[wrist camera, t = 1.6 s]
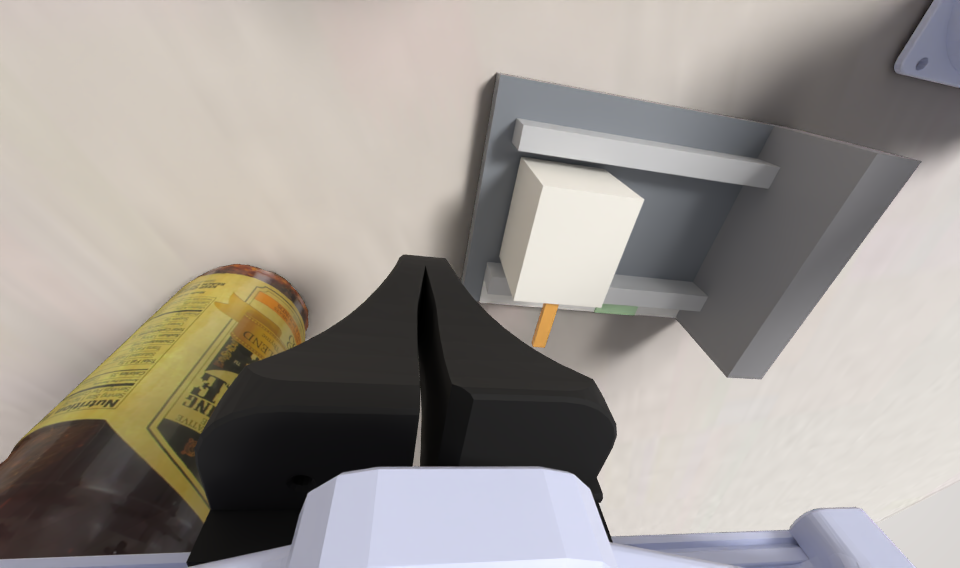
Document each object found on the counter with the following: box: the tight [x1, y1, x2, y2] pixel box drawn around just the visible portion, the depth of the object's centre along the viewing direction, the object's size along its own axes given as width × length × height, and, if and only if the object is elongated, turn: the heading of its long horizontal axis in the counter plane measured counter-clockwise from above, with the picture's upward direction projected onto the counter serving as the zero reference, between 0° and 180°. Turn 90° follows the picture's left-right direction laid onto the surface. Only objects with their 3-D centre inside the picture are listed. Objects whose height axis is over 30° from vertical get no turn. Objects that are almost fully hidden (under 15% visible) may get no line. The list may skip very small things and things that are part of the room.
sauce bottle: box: [0, 264, 308, 559], centre depth 13 cm, size 6×6×20 cm
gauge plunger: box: [499, 157, 644, 348], centre depth 18 cm, size 4×8×4 cm, turn 170°
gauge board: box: [461, 73, 921, 379], centre depth 18 cm, size 15×11×6 cm
